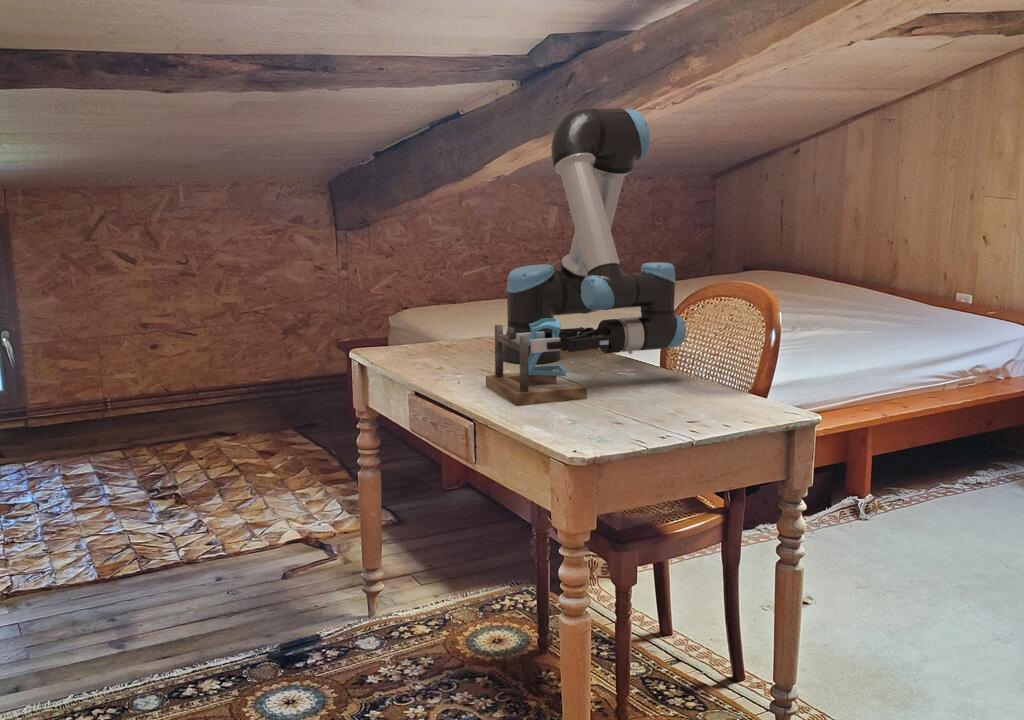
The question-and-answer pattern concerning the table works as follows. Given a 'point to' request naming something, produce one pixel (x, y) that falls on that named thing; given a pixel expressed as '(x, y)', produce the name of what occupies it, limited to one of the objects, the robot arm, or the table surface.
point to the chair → (534, 357)
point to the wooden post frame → (526, 377)
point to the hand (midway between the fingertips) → (523, 343)
